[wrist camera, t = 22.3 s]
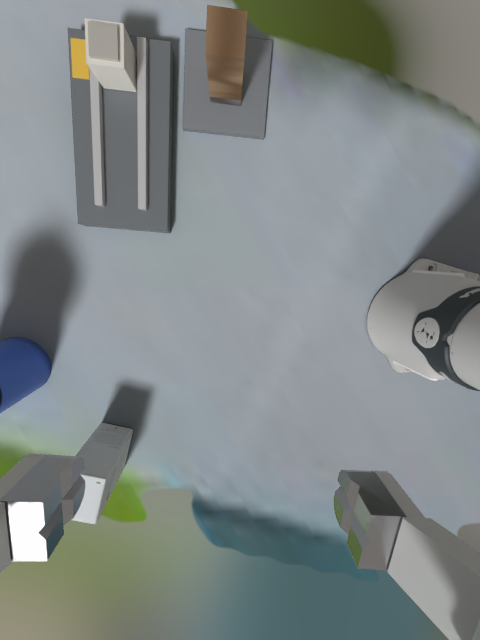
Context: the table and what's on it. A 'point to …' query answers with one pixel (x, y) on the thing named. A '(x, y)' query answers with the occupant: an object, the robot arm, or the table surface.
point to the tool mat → (222, 116)
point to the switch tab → (111, 55)
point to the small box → (102, 468)
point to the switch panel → (123, 140)
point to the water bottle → (21, 370)
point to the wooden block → (225, 53)
